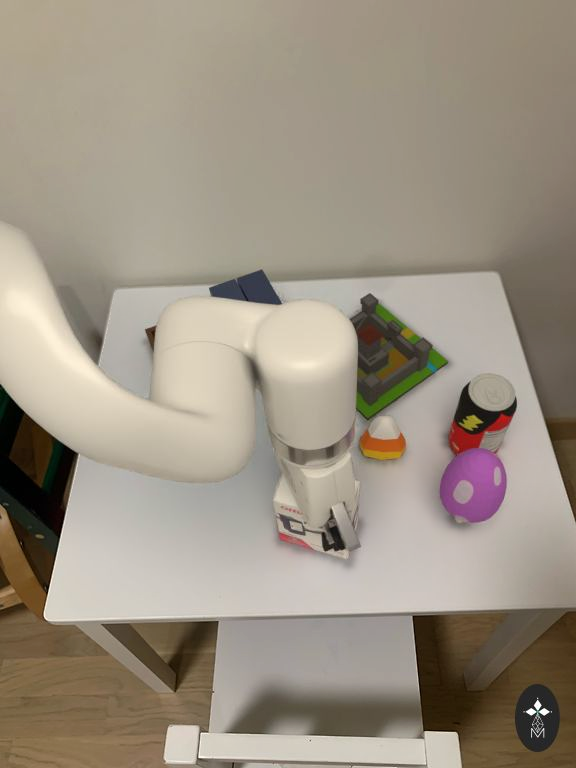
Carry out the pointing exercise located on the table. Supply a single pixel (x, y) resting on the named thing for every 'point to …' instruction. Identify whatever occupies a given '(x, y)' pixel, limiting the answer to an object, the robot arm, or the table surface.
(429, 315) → the table surface
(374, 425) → the candy corn
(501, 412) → the beverage can
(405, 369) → the castle model
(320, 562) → the table surface
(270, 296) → the matching cartons
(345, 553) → the ink box
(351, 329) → the robot arm
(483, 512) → the toy
